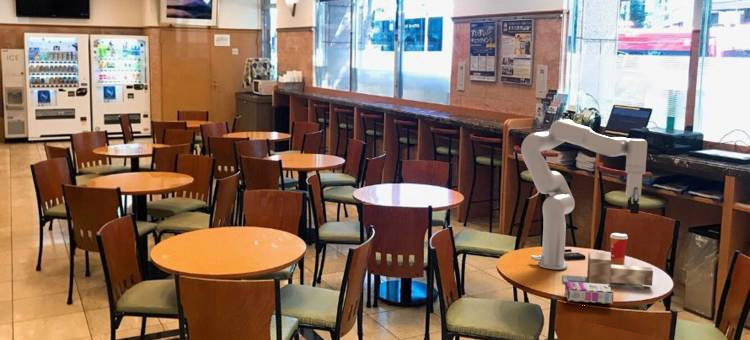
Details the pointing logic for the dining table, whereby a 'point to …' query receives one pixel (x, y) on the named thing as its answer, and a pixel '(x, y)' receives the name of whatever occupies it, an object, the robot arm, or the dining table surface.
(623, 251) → the paper cup
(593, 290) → the candy bar box
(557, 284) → the dining table surface
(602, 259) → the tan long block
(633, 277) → the block
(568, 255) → the battery charger
